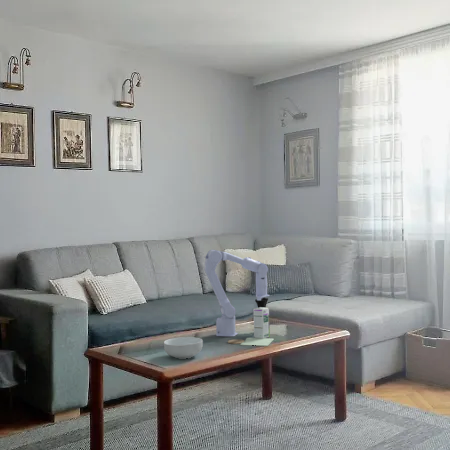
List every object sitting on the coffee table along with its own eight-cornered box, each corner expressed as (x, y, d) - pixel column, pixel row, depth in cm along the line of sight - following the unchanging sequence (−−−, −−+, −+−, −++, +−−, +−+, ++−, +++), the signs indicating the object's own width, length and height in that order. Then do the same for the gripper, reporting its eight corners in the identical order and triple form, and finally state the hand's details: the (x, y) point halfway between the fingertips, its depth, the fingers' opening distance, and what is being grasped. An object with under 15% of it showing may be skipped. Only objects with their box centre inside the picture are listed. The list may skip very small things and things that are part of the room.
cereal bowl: (175, 351, 260) (175, 335, 260) (209, 354, 254) (208, 337, 254) (156, 360, 245) (156, 343, 245) (192, 363, 238) (191, 345, 238)
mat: (240, 345, 270) (240, 344, 270) (247, 338, 286) (247, 337, 286) (267, 346, 267) (267, 345, 267) (273, 339, 282) (273, 338, 282)
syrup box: (263, 338, 282) (263, 308, 283) (253, 337, 286) (253, 307, 287) (269, 337, 287) (269, 307, 288) (260, 336, 290) (259, 307, 291)
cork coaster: (225, 343, 275) (225, 342, 275) (230, 340, 282) (230, 339, 282) (242, 344, 272) (242, 343, 272) (246, 340, 280) (246, 339, 280)
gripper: (266, 287, 290) (267, 315, 290) (271, 284, 304) (272, 310, 304) (252, 287, 292) (253, 314, 292) (258, 284, 306) (259, 310, 306)
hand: (262, 312), depth 298 cm, fingers open, 3 cm apart
